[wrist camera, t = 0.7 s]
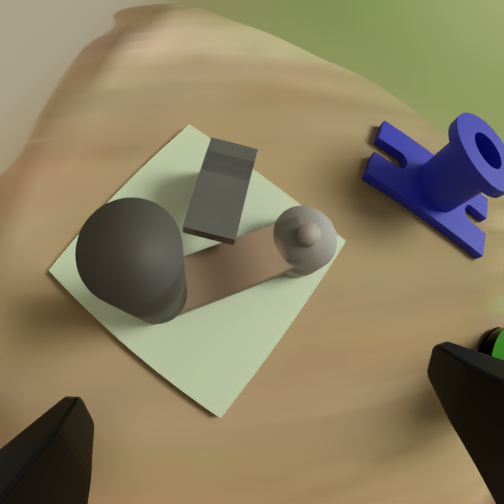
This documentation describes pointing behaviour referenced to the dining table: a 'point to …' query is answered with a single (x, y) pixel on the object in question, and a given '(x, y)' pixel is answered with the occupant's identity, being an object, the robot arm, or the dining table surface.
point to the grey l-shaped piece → (190, 258)
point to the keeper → (220, 192)
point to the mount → (443, 177)
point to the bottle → (493, 343)
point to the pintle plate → (212, 315)
